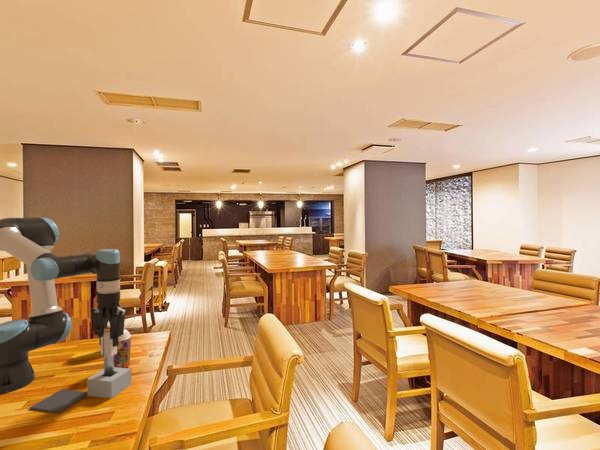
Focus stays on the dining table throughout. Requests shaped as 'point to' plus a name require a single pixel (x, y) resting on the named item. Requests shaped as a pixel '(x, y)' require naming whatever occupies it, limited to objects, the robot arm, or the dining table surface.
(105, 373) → the peg
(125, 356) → the smoothie
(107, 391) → the eye block
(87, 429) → the dining table surface
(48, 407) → the mat
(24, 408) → the dining table surface
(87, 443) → the dining table surface
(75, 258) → the robot arm
